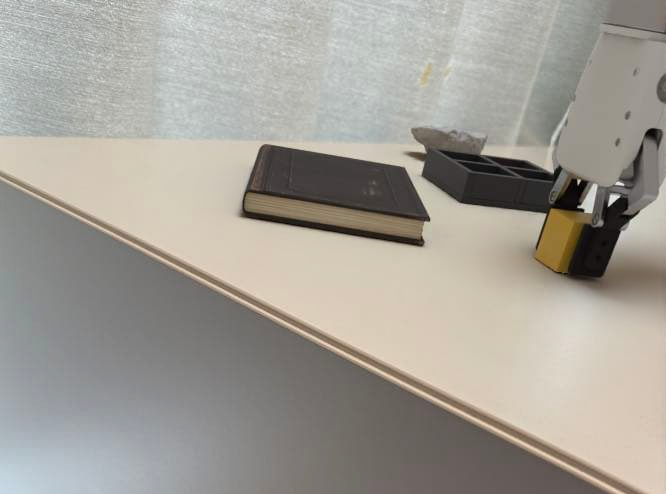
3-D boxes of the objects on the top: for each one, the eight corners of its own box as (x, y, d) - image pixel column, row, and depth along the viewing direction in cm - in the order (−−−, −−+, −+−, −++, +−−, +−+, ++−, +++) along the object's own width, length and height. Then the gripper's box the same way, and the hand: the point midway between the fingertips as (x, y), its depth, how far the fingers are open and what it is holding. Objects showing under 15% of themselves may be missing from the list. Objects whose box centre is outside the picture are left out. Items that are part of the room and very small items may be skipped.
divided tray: (519, 187, 98) (527, 160, 97) (568, 215, 88) (578, 186, 86) (421, 174, 96) (427, 147, 94) (460, 202, 85) (469, 172, 83)
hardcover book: (400, 189, 86) (405, 167, 85) (423, 245, 68) (430, 218, 66) (256, 165, 86) (259, 142, 84) (240, 215, 67) (244, 187, 66)
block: (575, 261, 71) (593, 213, 68) (599, 277, 68) (618, 226, 65) (534, 257, 70) (550, 208, 68) (555, 272, 67) (574, 221, 64)
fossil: (402, 125, 108) (471, 102, 108) (409, 175, 111) (476, 153, 111) (423, 130, 101) (497, 106, 100) (430, 183, 104) (502, 160, 104)
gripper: (778, 36, 52) (659, 302, 63) (638, 17, 66) (560, 239, 76) (681, 18, 51) (576, 294, 61) (558, 3, 64) (489, 231, 75)
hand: (568, 261), depth 68 cm, fingers open, 5 cm apart
